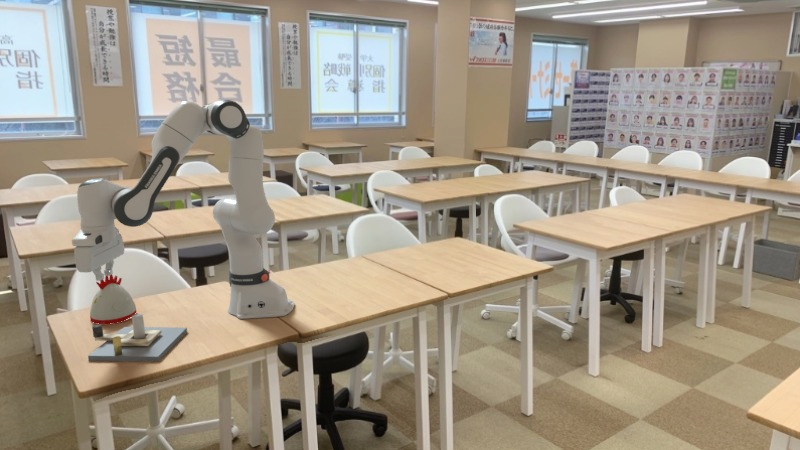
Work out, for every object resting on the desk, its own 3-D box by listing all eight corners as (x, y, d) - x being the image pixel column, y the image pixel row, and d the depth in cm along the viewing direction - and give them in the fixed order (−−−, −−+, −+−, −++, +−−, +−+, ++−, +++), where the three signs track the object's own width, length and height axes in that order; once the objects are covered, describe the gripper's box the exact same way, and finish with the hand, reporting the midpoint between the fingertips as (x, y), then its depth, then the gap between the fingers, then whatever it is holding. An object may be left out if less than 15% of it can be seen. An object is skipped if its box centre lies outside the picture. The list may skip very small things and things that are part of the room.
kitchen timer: (82, 318, 185) (76, 276, 182) (122, 306, 197) (117, 265, 193) (105, 328, 178) (99, 284, 174) (144, 314, 189) (140, 272, 186)
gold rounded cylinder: (123, 352, 157) (121, 336, 156) (120, 355, 155) (118, 339, 154) (117, 352, 157) (114, 336, 156) (113, 355, 155) (111, 339, 154)
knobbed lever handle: (161, 333, 169) (160, 321, 168) (147, 346, 160) (146, 333, 159) (102, 332, 170) (101, 320, 169) (85, 345, 161) (84, 332, 160)
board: (187, 331, 175) (184, 303, 173) (158, 361, 155) (155, 330, 153) (124, 331, 175) (121, 303, 173) (88, 360, 156) (84, 329, 154)
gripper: (107, 225, 175) (112, 267, 178) (67, 241, 155) (74, 288, 158) (127, 225, 174) (131, 267, 178) (89, 242, 155) (96, 288, 158)
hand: (104, 277), depth 168 cm, fingers open, 3 cm apart
